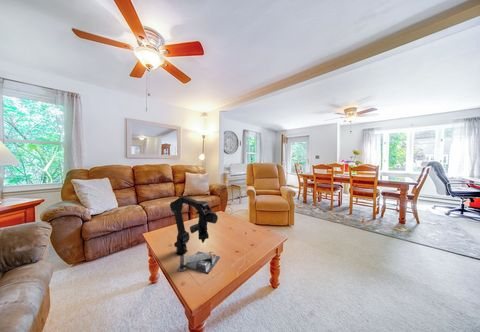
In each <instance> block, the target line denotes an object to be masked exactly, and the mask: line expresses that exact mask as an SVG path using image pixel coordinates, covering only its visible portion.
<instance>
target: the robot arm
mask: <svg viewBox="0 0 480 332" xmlns="http://www.w3.org/2000/svg"><path fill="white" fill-rule="evenodd" d="M184 204H185V205H188V206H190V207H192V208H194V209H195V210H196V212H195V214H197V215H198V222H197V223H195V224H193V225H191V226H189V230H190V233H191V234H194V233H196V232H198V234H197V235H198V236H197V237H198V240H199V241H200V240H201V243H205V241H206V240H207V239H209V232H208V223H210V224H214V225H215V224H217V222H218V220H219V217H218V215H217V213H216V212H213V210H212V208H211V207H210V205H209V203H208V201H206V200H196V199H193V198H190V197H188V196H186V195H183V196H179V198H177V199H175V200H174V201H171V202H170V204H169V208H170V211H171V212H172V213H173V215H174V219H175V225H176V228H177V236H176V241H175V242H174V248H176V252H175V255H178V256H181V255H184V256H185V254H186V253H187V252H188V251H189V250H188V249H187V244H188V243H189V241H190V237H191V236H190V233H189V231H187V230H186V229H185V228H186V227H185V222H184V218H183V213H182V210H183V205H184Z"/></svg>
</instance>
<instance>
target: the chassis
mask: <svg viewBox="0 0 480 332" xmlns="http://www.w3.org/2000/svg"><path fill="white" fill-rule="evenodd" d="M202 253H204V252H203V251H199V250H197V252H196V253H195V254H194V255H196V254H202ZM220 258H221V257H220V256H219V255H216V254H214V253H213V258H212V259H204V260H198V261H192V262H186V263H184V266H186V269H191V270H194V271H198V272H201V273H205V274H207V275H209V273H210V272H211V271H212V270H213V268H214V267H215V266H216V265H217V263H218V261H219V260H220Z"/></svg>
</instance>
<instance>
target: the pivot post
mask: <svg viewBox="0 0 480 332" xmlns="http://www.w3.org/2000/svg"><path fill="white" fill-rule="evenodd" d="M184 265H185V254H184V255H179V267H177V271H178V272H180V273H182V272H184V271H186V270H187V267H186V266H184Z"/></svg>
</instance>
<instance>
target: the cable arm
mask: <svg viewBox="0 0 480 332" xmlns="http://www.w3.org/2000/svg"><path fill="white" fill-rule="evenodd" d="M195 254H196V253H195ZM195 254H191V255H184V264H186V263H187V262H192V261H198V260H204V259H212V258H213V254H214V251H209V252H203V253H202V254H196V255H195Z"/></svg>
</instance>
